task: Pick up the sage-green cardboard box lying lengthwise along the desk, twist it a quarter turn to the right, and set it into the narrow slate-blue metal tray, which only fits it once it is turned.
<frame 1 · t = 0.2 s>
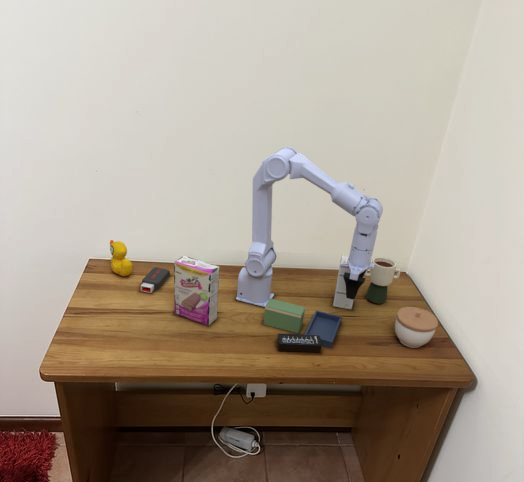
hand: (352, 291, 133), 10 cm above the table, tool pointing down, fingers open, 7 cm apart
desk tray: (322, 331, 134), on the table
green box: (282, 324, 134), on the table
trinket box: (410, 341, 133), on the table
usb drive: (154, 283, 148), on the table
multiport hub: (298, 346, 126), on the table, touching desk tray
syrup box: (342, 304, 147), on the table
duckling: (121, 273, 151), on the table
candy bar box: (195, 317, 134), on the table
character mug: (375, 300, 151), on the table
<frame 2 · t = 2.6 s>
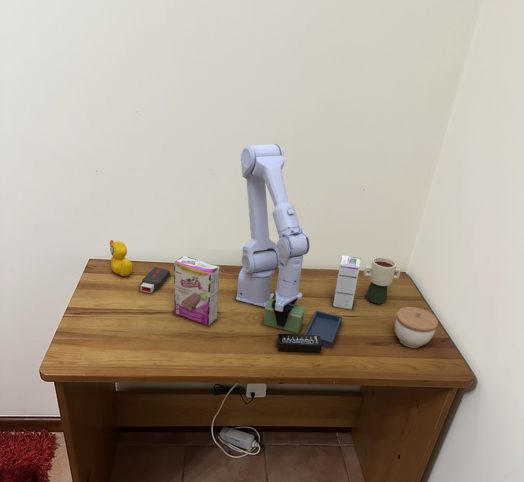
hand: (283, 320, 134), 1 cm above the table, tool pointing down, fingers closed on green box, 4 cm apart
green box: (283, 324, 135), on the table, touching gripper
everything else where it was.
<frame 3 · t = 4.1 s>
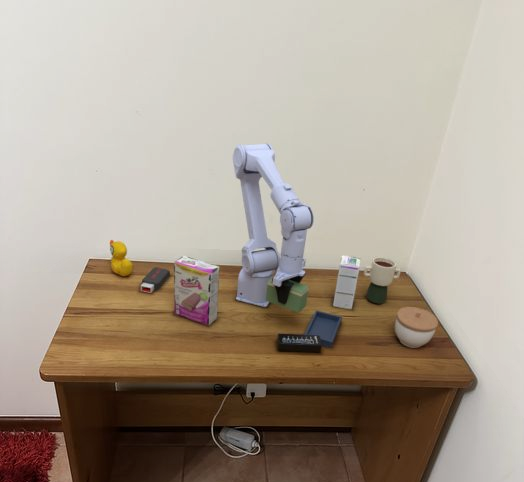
hand: (286, 298, 130), 8 cm above the table, tool pointing down, fingers closed on green box, 4 cm apart
green box: (285, 303, 131), point 7 cm above the table, touching gripper
everything else where it was.
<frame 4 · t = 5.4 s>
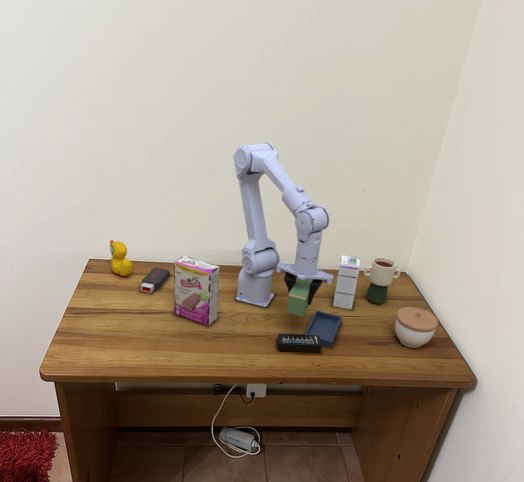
hand: (300, 300, 130), 8 cm above the table, tool pointing down, fingers closed on green box, 4 cm apart
green box: (299, 305, 130), point 7 cm above the table, touching gripper
everything else where it was.
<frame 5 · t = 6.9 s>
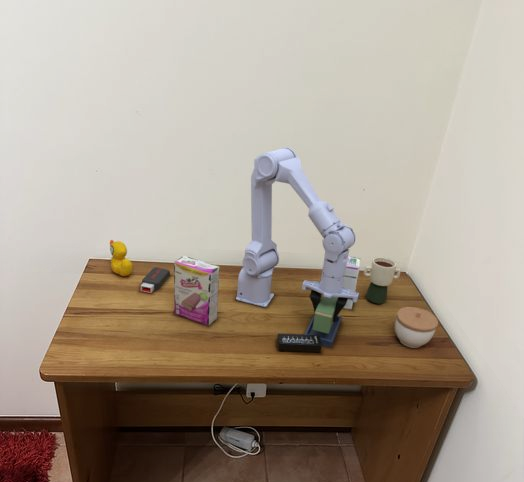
hand: (325, 317, 131), 4 cm above the table, tool pointing down, fingers closed on green box, 4 cm apart
green box: (324, 322, 132), point 3 cm above the table, touching gripper
everything else where it was.
when the fingers open (2 cm above the table, at t = 8.3 s): green box stays where it is, resting on desk tray.
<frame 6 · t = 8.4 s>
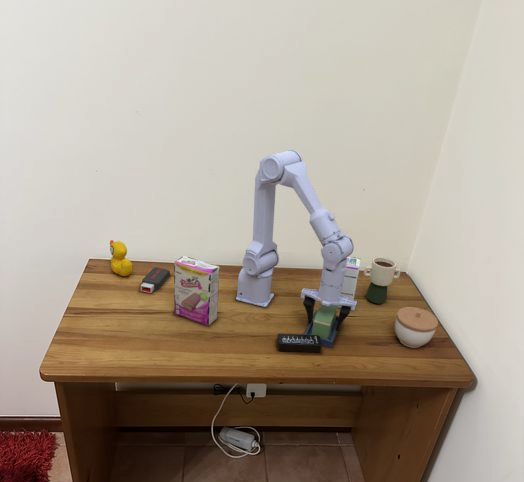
hand: (323, 325, 133), 2 cm above the table, tool pointing down, fingers open, 7 cm apart
green box: (323, 329, 133), resting on desk tray
everything else where it was.
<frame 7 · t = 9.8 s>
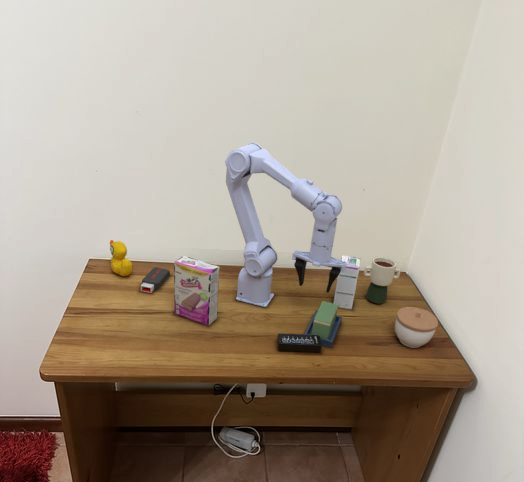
hand: (314, 287, 135), 9 cm above the table, tool pointing down, fingers open, 7 cm apart
nothing on the table moved.
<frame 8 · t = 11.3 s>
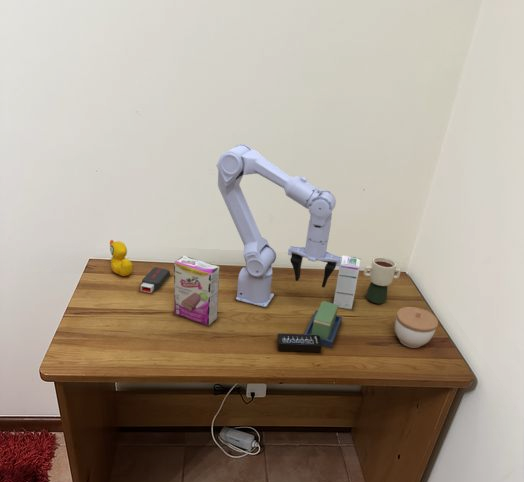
hand: (310, 282, 137), 9 cm above the table, tool pointing down, fingers open, 7 cm apart
nothing on the table moved.
at the end: green box 0.1 cm off-centre in the desk tray, point 0.4 cm above the desk tray's base; green box tilted 0°; the gripper is holding nothing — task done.
